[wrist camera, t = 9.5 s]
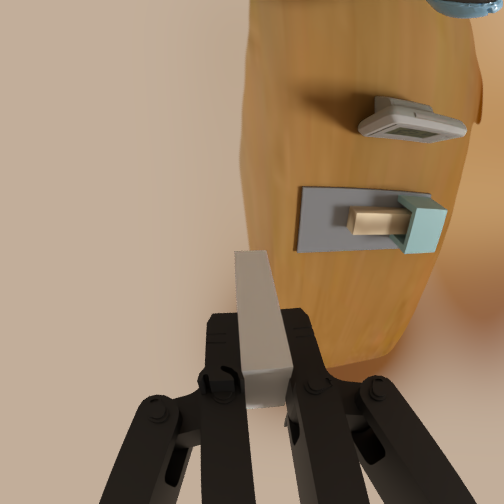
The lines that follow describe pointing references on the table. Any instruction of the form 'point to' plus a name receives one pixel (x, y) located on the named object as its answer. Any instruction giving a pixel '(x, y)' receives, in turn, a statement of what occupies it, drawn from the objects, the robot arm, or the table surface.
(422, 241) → the end cap
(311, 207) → the mat
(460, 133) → the digital clock
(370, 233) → the slat
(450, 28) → the table surface
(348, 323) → the table surface
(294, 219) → the table surface
